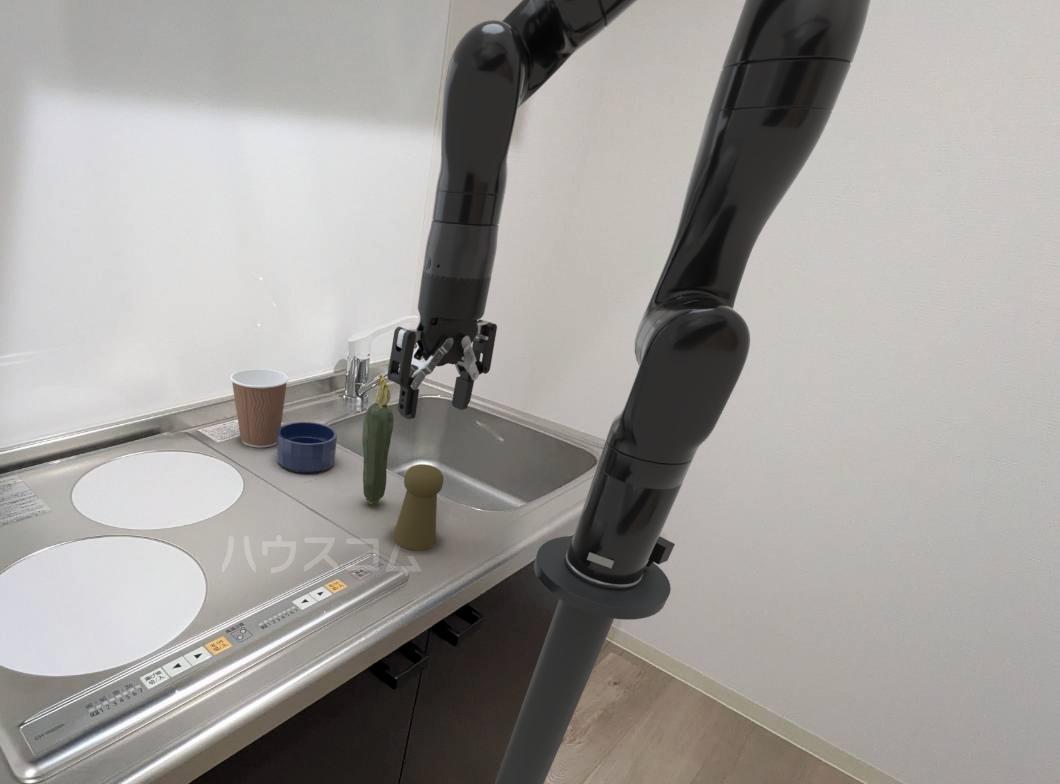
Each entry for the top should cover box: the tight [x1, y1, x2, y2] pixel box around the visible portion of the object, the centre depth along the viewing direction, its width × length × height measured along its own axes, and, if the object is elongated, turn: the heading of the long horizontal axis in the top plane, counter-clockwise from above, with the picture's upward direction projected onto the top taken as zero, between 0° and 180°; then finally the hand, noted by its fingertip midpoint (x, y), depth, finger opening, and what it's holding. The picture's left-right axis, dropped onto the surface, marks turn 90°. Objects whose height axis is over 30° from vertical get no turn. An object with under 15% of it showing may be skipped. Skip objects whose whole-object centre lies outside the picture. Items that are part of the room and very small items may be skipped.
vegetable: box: [361, 374, 395, 505], centre depth 85 cm, size 4×4×20 cm
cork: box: [392, 463, 444, 551], centre depth 80 cm, size 6×6×11 cm
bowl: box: [276, 421, 338, 474], centre depth 101 cm, size 10×10×6 cm
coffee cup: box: [229, 368, 290, 449], centre depth 106 cm, size 10×10×12 cm
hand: (433, 412), depth 73 cm, fingers open, 8 cm apart
